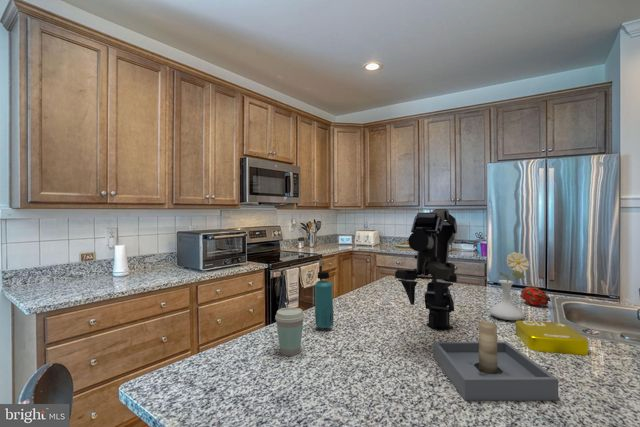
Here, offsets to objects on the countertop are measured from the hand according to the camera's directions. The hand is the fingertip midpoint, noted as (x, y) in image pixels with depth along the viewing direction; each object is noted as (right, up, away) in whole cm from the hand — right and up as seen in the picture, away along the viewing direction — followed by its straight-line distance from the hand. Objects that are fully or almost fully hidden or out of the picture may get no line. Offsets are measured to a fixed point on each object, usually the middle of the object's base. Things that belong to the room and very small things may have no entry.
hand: (425, 304), depth 98 cm
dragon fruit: (+60, -12, +40) cm, 73 cm away
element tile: (+38, -13, +2) cm, 41 cm away
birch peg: (+10, -13, -18) cm, 24 cm away
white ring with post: (0, -13, +45) cm, 47 cm away
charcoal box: (+10, -13, -18) cm, 24 cm away
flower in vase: (+39, -12, +24) cm, 48 cm away
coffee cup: (-41, -13, -2) cm, 43 cm away
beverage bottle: (-30, -13, +16) cm, 36 cm away
